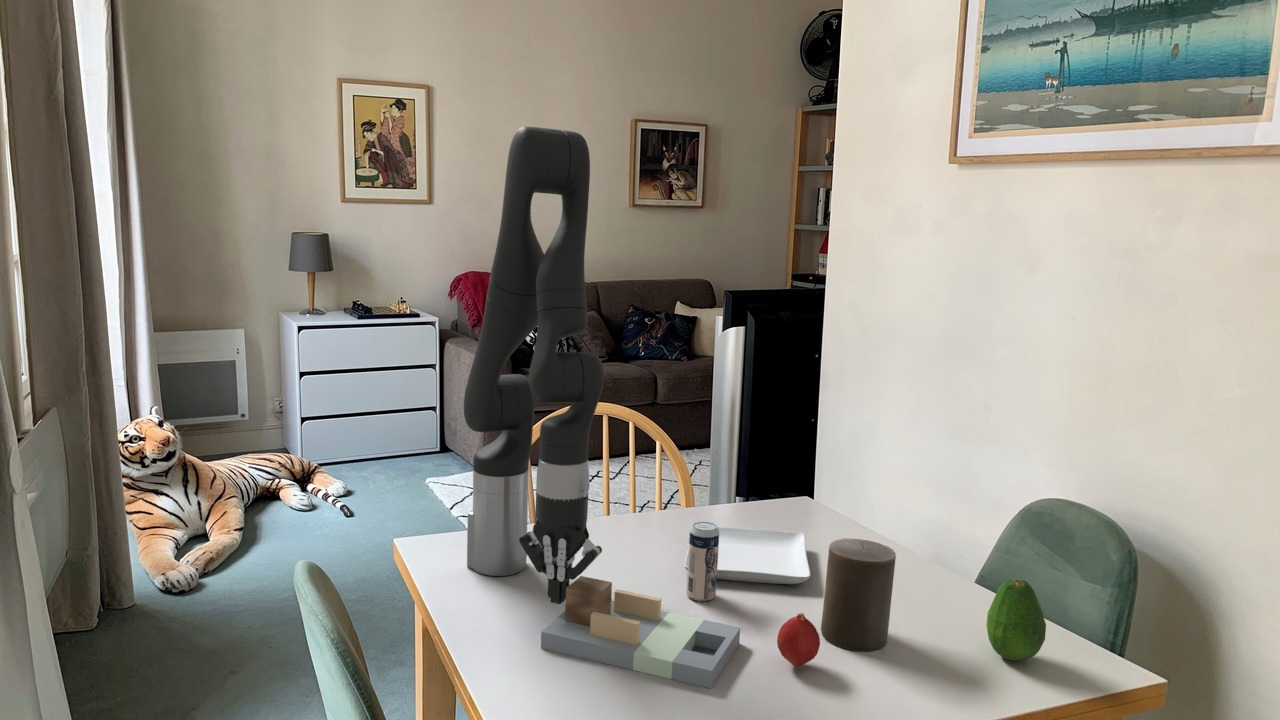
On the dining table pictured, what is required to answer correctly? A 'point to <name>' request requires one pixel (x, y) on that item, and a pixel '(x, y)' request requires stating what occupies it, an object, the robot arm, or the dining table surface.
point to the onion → (798, 640)
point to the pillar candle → (858, 594)
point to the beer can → (703, 561)
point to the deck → (647, 640)
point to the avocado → (1016, 621)
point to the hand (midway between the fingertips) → (558, 601)
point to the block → (587, 599)
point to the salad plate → (761, 556)
